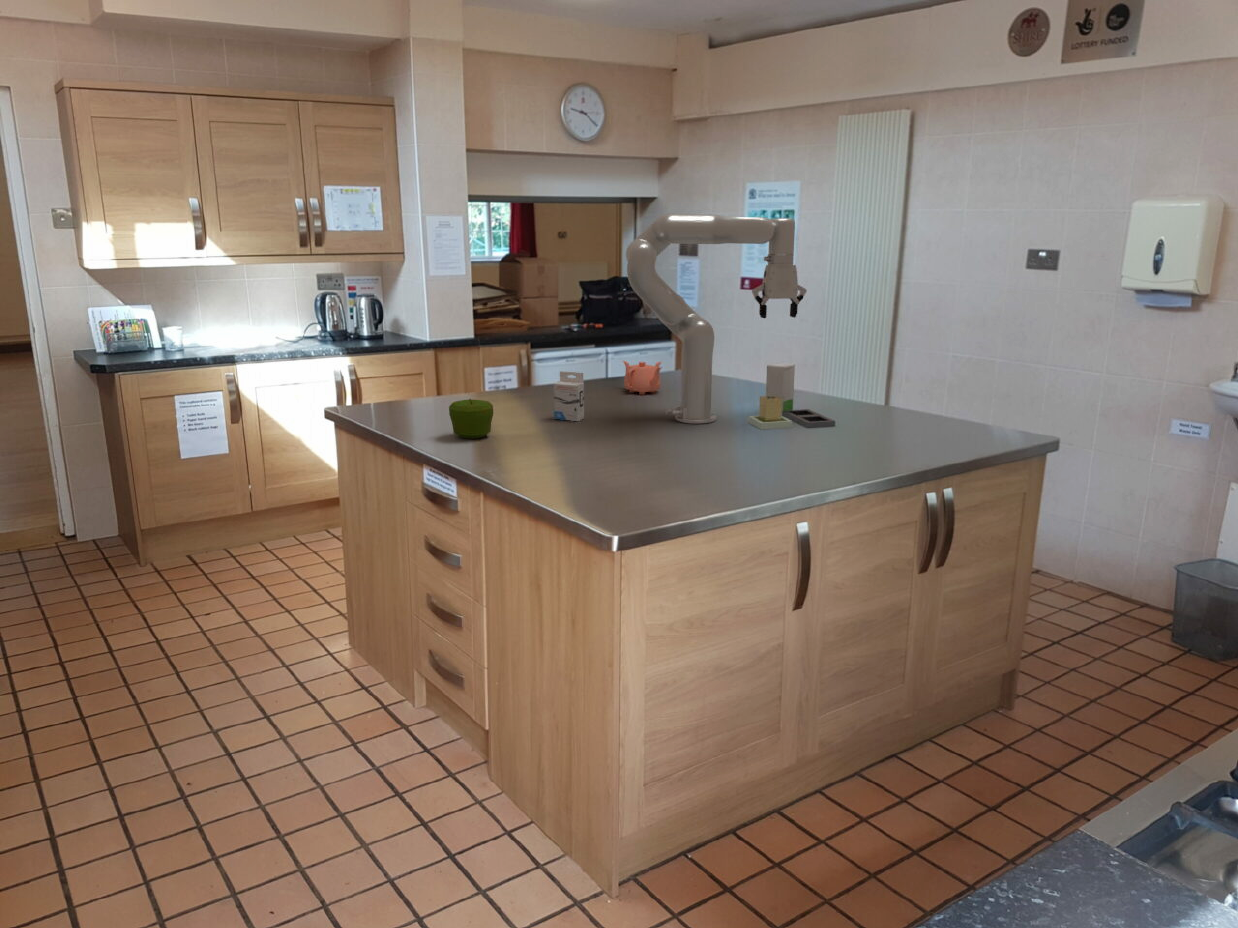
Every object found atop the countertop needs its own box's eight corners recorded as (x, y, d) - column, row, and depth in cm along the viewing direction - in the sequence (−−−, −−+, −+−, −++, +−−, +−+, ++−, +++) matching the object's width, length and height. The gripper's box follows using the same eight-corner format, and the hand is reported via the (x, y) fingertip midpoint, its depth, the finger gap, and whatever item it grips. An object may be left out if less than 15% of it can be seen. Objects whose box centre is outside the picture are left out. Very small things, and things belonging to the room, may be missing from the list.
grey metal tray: (807, 430, 276) (807, 422, 275) (781, 417, 293) (782, 410, 292) (834, 428, 278) (835, 421, 277) (808, 415, 295) (808, 409, 294)
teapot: (622, 388, 341) (622, 358, 338) (661, 388, 340) (661, 359, 338) (621, 396, 327) (621, 365, 324) (662, 396, 326) (662, 365, 324)
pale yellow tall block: (765, 427, 277) (766, 399, 275) (758, 423, 282) (759, 396, 279) (780, 426, 278) (782, 398, 276) (773, 422, 283) (775, 395, 281)
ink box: (553, 420, 289) (552, 373, 286) (560, 416, 294) (559, 371, 290) (578, 422, 287) (577, 375, 283) (584, 418, 291) (584, 372, 287)
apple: (450, 442, 261) (448, 403, 258) (450, 432, 273) (449, 395, 270) (494, 441, 263) (493, 402, 260) (493, 431, 275) (492, 393, 272)
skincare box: (781, 415, 295) (784, 367, 291) (763, 412, 299) (765, 365, 295) (793, 411, 302) (796, 363, 298) (775, 408, 306) (777, 361, 302)
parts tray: (761, 431, 274) (761, 423, 273) (748, 424, 283) (748, 416, 283) (792, 429, 277) (792, 421, 276) (778, 422, 286) (778, 414, 285)
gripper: (758, 261, 273) (755, 319, 278) (812, 260, 277) (809, 318, 282) (749, 260, 281) (747, 316, 285) (802, 259, 284) (799, 315, 289)
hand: (778, 317), depth 283 cm, fingers open, 9 cm apart
